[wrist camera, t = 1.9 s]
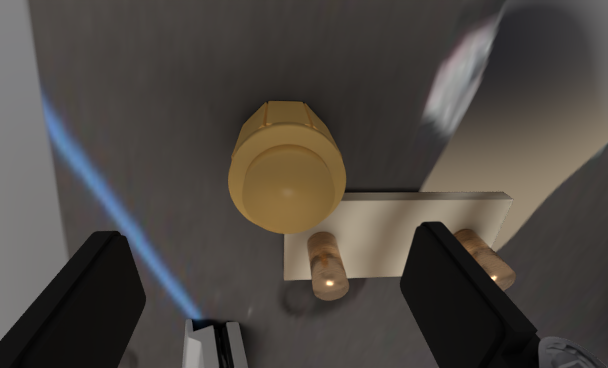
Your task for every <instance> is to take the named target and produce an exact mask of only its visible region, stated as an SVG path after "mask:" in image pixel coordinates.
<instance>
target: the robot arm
mask: <svg viewBox="0 0 608 368" xmlns="http://www.w3.org/2000/svg"><path fill="white" fill-rule="evenodd" d="M400 288H401V291H402V294H403V296H404V298H405V300H406V302H407V304H408V306H409V308H410V310H411V312H412V314H413V316H414V318H415V320H416V322H417V324H418V326H419V328H420V330H421V332H422V334H423V336H424V338H425V340H426V342H427V344H428V346H429V348H430V350H431V352H432V354H433V356H434V358H435V360H436V362H437V364H438V366H439V368H607V367H606V366H605V365H604V364H603V363H602V362H601V361H600V360H599V359H598V358H597V357H596V356H595V355H593V354H592V353H590V352H589V351H588V350H586V349H585V348H583V347H581V346H579V345H578V344H576V343H574V342H572V341H569V340H566V339H563V338H560V337H552V336H551V337H545V338H543V339H542V340H540V338H539V337H538V336H537V335H536V334H535V333H536V332H537V331H538V330H537V329H536V328H535V327H534V326H533V325H532V323H531V322H530V321H529V320H528V319H527V318H526V317H525V316H524V314H523V313H522V312H521V311H520V310H519V309H518V308H517V306H516V305H515V304H514V303H513V302H512V301H511V300H510V299H509V297H508V296H507V295H506V294H505V293H504V292H503V291H502V289H501V288H500V287H499V286H498V285H497V284H496V283H495V281H494V280H493V279H492V278H491V277H490V276H489V275H488V274H487V272H486V271H485V270H484V269H483V268H482V267H481V266H480V264H479V263H478V262H477V261H476V260H475V259H474V258H473V257H472V255H471V254H470V253H469V252H468V251H467V250H466V249H465V247H464V246H463V245H462V244H461V243H460V242H459V241H458V240H457V238H456V237H455V236H454V235H453V234H452V233H451V232H450V230H449V229H448V228H447V227H446V226H445V225H444V224H443V223H442V222H440V221H429V222H422V223H421V225H420V226H417V227H416V230H415V233H414V236H413V240H412V243H411V246H410V250H409V253H408V257H407V260H406V263H405V267H404V270H403V274H402V277H401V280H400ZM145 302H146V295H145V292H144V289H143V286H142V283H141V280H140V277H139V274H138V271H137V268H136V265H135V262H134V259H133V256H132V253H131V250H130V247H129V244H128V241H127V238H126V237H125V236H123V235H121V234H120V233H119V232H118V231H96V232H94V233H93V234H91V236H90V237H89V238H88V239H87V240H86V241H85V243H84V244H83V245H82V246H81V247H80V248H79V250H78V251H77V252H76V253H75V254H74V255H73V257H72V258H71V259H70V260H69V261H68V262H67V264H66V265H65V266H64V267H63V268H62V270H61V271H60V272H59V273H58V274H57V276H56V277H55V278H54V279H53V280H52V281H51V282H50V284H49V285H48V286H47V287H46V288H45V289H44V290H43V292H42V293H41V294H40V295H39V296H38V297H37V299H36V300H35V301H34V302H33V303H32V304H31V306H30V307H29V308H28V309H27V310H26V311H25V313H24V314H23V315H22V316H21V317H20V319H19V320H18V321H17V322H16V323H15V325H14V326H13V327H12V328H11V329H10V330H9V331H8V332H7V334H6V335H5V336H4V337H3V338H2V339H1V341H0V368H117V367H118V365H119V363H120V360H121V358H122V356H123V354H124V351H125V349H126V347H127V345H128V343H129V340H130V338H131V336H132V334H133V331H134V329H135V327H136V325H137V322H138V320H139V318H140V316H141V313H142V311H143V309H144V306H145Z"/></svg>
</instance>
